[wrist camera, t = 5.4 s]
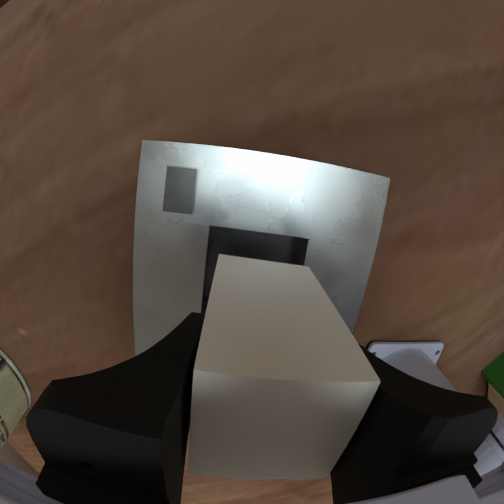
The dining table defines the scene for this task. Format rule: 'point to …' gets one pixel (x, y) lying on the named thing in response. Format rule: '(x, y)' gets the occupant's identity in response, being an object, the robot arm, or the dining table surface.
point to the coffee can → (11, 397)
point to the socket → (245, 226)
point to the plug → (274, 376)
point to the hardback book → (496, 382)
